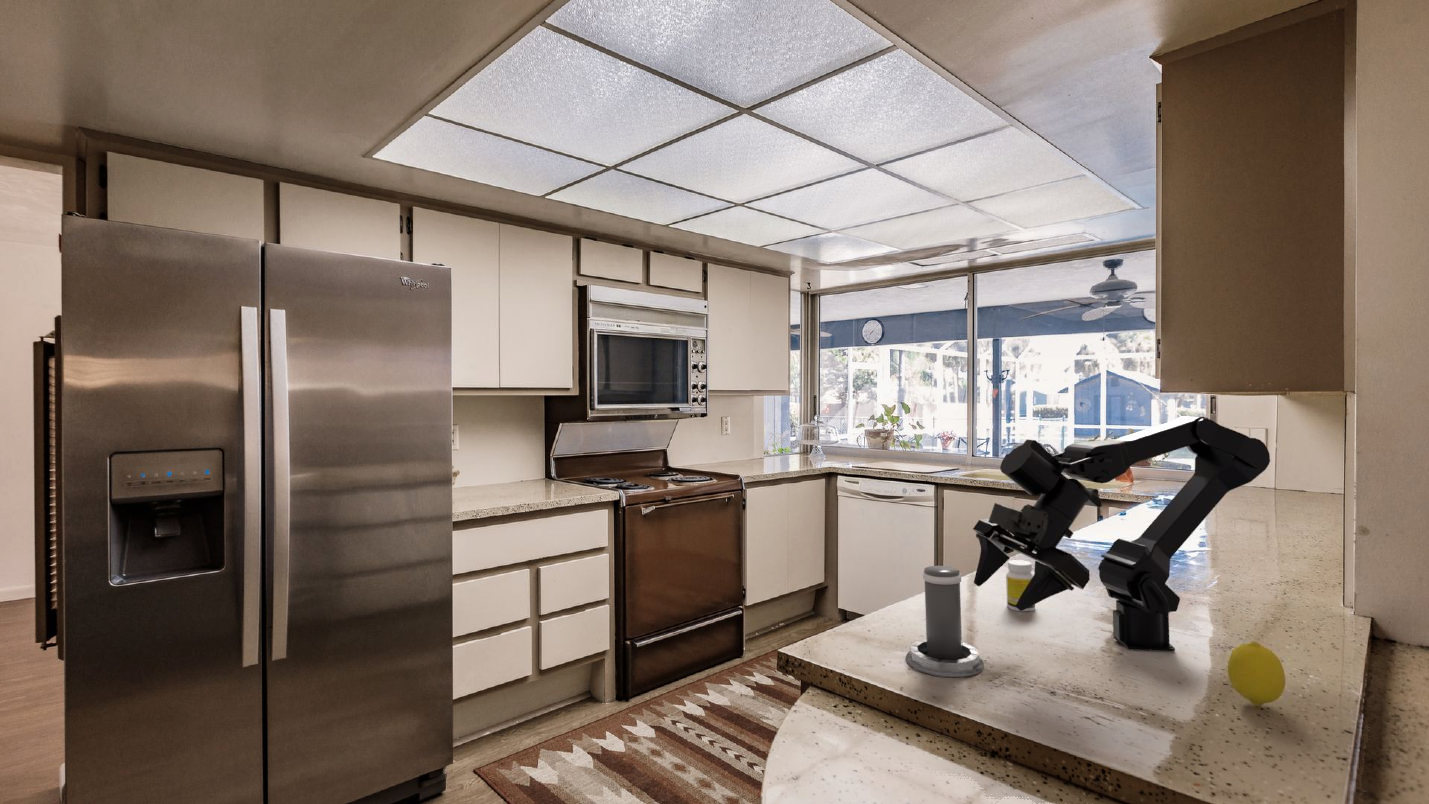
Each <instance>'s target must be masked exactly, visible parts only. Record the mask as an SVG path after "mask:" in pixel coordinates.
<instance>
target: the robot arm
mask: <svg viewBox="0 0 1429 804" xmlns="http://www.w3.org/2000/svg"><path fill="white" fill-rule="evenodd" d="M1183 448H1187V450H1188V451H1190V453H1192V454H1193V455H1195V459H1194V473H1193V475H1192V476H1191V477H1190V479H1189V480H1187V482H1186V483H1185V484H1184V485H1183V486H1182V487H1181V488H1180V490H1178V492H1177V494H1175V496H1174V497H1173V498H1172V499H1171V500H1170V501H1169V502H1168V504H1167V505H1166V506H1165V507H1164V509H1162V510H1161V512H1160V513H1159V514H1158V515H1156V516H1157V517H1156V518H1155V519H1153V521H1152V522H1151V523H1150V525H1148V527H1147V528H1146V529H1145V530H1144V531H1143V532H1142V533H1141V535H1140V536H1139V537H1138V538H1136V539H1134V540H1132V541H1130V540H1125V539H1123V538H1117V539H1116V540H1114V541H1113V543H1112V544H1111V547H1109V549H1108V550H1107V551H1106V552H1105V553H1103V554H1101V555H1100V557H1101V558H1103V559H1102V560H1101V562H1100V563H1099V564H1098V568H1097V569H1098V574H1099V579H1100V582H1101V584H1102V585H1103V586H1104V587H1105V590H1106V592H1107V595H1108V596H1109V598H1111V599H1115V609H1113V611H1112V623H1113V624H1112V627H1113V629H1112V631H1113V632H1112V635H1113V637H1114V638H1115V639H1117V640H1118V642H1120V643H1121V645H1123V646H1124V647H1125V648H1126V649H1127V650H1135V651H1157V652H1158V651H1159V652H1175V651H1176V647H1174V646H1173V645H1172V644H1170V615H1169V614H1170V613H1172V612H1173V613H1175V612H1177V611H1178V607H1179V606H1180V605H1179V604H1180V601H1181V598H1180V596H1179V595H1178V594H1176V592H1175V591H1173V590H1172V589H1171V588H1170V587H1169V586H1168V585H1167V584H1166V583H1167V581H1168V579H1169V577H1170V574H1171V573H1170V567H1171V559H1172V557H1173V556H1174V555H1175V554H1176V553H1177V551H1178V550H1179V549H1180V548H1181V547H1182V546H1183V544H1185V543H1186V541H1187V540H1188V539H1189V537H1190V536H1191V535H1193V533H1194V532H1195V530H1196V529H1197V528H1198V527H1199V526H1200V525H1201V524H1202V522H1203V521H1204V520H1205V519H1206V518H1207V517H1208V515H1209V514H1210V513H1211V512H1212V511H1213V510H1214V509H1215V507H1216V506H1217V505H1218V504H1219V503H1220V501H1221V500H1222V499H1223V498H1224V496H1225V495H1227V494H1228V493H1229V492H1231V491H1233V490H1235V489H1237V488H1240V487H1243V486H1245V485H1247V484H1250V483H1251V482H1253V481H1254V480H1255V479H1256V478H1257V477H1259V476H1260V475H1261V474H1263V472H1264V471H1266V469H1268V466H1269V465H1270V463H1271V457H1270V451H1269V449H1268V446H1267V445H1266V443H1264V441H1262V440H1261V439H1259V438H1256V437H1249V436H1247V435H1246V434H1244V433H1242V432H1239V431H1236V430H1234V429H1231V428H1228V427H1226V426H1223V425H1221V424H1219V423H1217V422H1216V421H1214V420H1213V419H1210V418H1208V417H1206V416H1190V415H1189V416H1187V415H1186V416H1184V415H1183V416H1179V417H1177V418H1175V419H1174V420H1172V421H1169V422H1165V423H1162V424H1159V425H1156V426H1151V427H1149V428H1146V429H1143V430H1140V431H1137V432H1136V431H1135V432H1134V433H1131V434H1128V435H1124V436H1121V437H1118V438H1114V439H1104V440H1090V441H1082V442H1074V443H1071V444H1069V445H1067V446H1066V447H1065V448H1064V450H1063V451H1062V452H1059V453H1056V454H1053V455H1052V454H1051V453H1050V452H1049V451H1047V450H1046V449H1045V447H1043V445H1042V444H1041V443H1039V442H1038V441H1037V440H1035V439H1026V440H1025V441H1024V443H1023V444H1021V445H1018V446H1017V447H1015V448H1014V449H1012V450H1011V451H1010V452H1009V453H1007V454H1006V455H1005V456H1004V457H1003V458H1002V461H1001V463H1000V472H1001V473H1002V474H1003V475H1005V476H1006V477H1007V478H1009V480H1010V481H1013V483H1014V484H1016V485H1017V486H1018V487H1020V488H1021V489H1022V490H1024V491H1025V493H1027V494H1028V495H1031V496H1037V495H1040V496H1039V497H1038V499H1037V501H1035V503H1034V504H1033V505H1032V504H1031V505H1030V504H1026V505H1024V506H1023V507H1022V508H1021V510H1020V509H1016V508H1014V507H1011V506H1007V505H1005V504H1004V505H1003V504H1001V503H997V502H994V505H993V507H992V510H991V513H990V516H989V518H982V519H978V521H977V522H976V523H975V525H974V526H973V527H972V530H973V531H974V532H975V537H976V539H978V541H979V545H980V554H979V560H978V563H977V568H976V571H975V576H974V580H973V584H974V585H975V586H977V587H981V586H982V585H983V584H985V583H986V582H988V580H989V579H990V578H991V577H992V576H993V575H994V574H995V573H997V572H998V571H999V570H1000V569H1001V568H1002V567H1003V566H1004V565H1005V564H1006V563H1008V561H1010V558H1011V557H1009V555H1007V554H1010V553H1013V552H1017V553H1019V554H1021V555H1023V556H1026V557H1028V558H1030V559H1032V560H1034V573H1033V575H1034V576H1033V577H1032V579H1031V581H1030V582H1029V584H1028V585H1027V587H1026V588H1025V590H1024V592H1023V593H1022V595H1021V596H1020V598H1019V600H1018V602H1017V604H1016V608H1017V609H1019V610H1020V611H1019V612H1024V611H1023V610H1025V609H1026V608H1028V607H1030V606H1032V605H1034V604H1035V605H1036V604H1038V603H1040V602H1042V601H1044V600H1046V599H1047V598H1048V599H1049V598H1051V597H1053V596H1055V595H1057V594H1060V593H1063V592H1065V591H1066V590H1067V591H1068V590H1069V591H1071V592H1072V591H1074V590H1075V587H1076V588H1078V589H1080V590H1084V589H1085V587H1086V586H1087V584H1088V583H1089V581H1090V578H1091V577H1090V570H1089V568H1087V567H1086V566H1085V565H1084V564H1083V563H1082V562H1080V561H1079V560H1078V559H1077V558H1076V557H1075V556H1074V555H1072V553H1069V552H1067V551H1066V550H1065V551H1064V550H1062V549H1060V548H1057V547H1058V545H1059V544H1060V542H1061V541H1062V539H1063V538H1064V537H1065V538H1068V539H1071V538H1072V536H1073V535H1074V532H1073V531H1072V530H1071V529H1070V528H1071V527H1072V525H1073V524H1074V522H1075V521H1076V519H1077V518H1078V516H1079V515H1080V513H1081V512H1082V510H1083V509H1084V508H1085V505H1086V506H1090V507H1096V508H1101V507H1102V506H1103V503H1102V500H1101V497H1100V496H1099V495H1100V494H1099V489H1097V488H1092V487H1086V486H1085V485H1084V484H1083V483H1082V482H1081V481H1085V482H1090V483H1091V482H1092V483H1095V484H1107V483H1110V482H1112V481H1113V480H1115V479H1117V478H1119V477H1120V476H1122V475H1124V474H1126V473H1127V472H1128V470H1129V469H1130V468H1131V467H1133V466H1134V465H1135V464H1137V463H1140V462H1143V461H1146V460H1149V459H1153V458H1156V457H1158V456H1162V455H1165V454H1168V453H1171V452H1173V451H1177V450H1181V449H1183ZM1064 473H1065V474H1066V476H1065V475H1064ZM1067 476H1068V477H1069V478H1068V477H1067Z"/></svg>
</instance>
